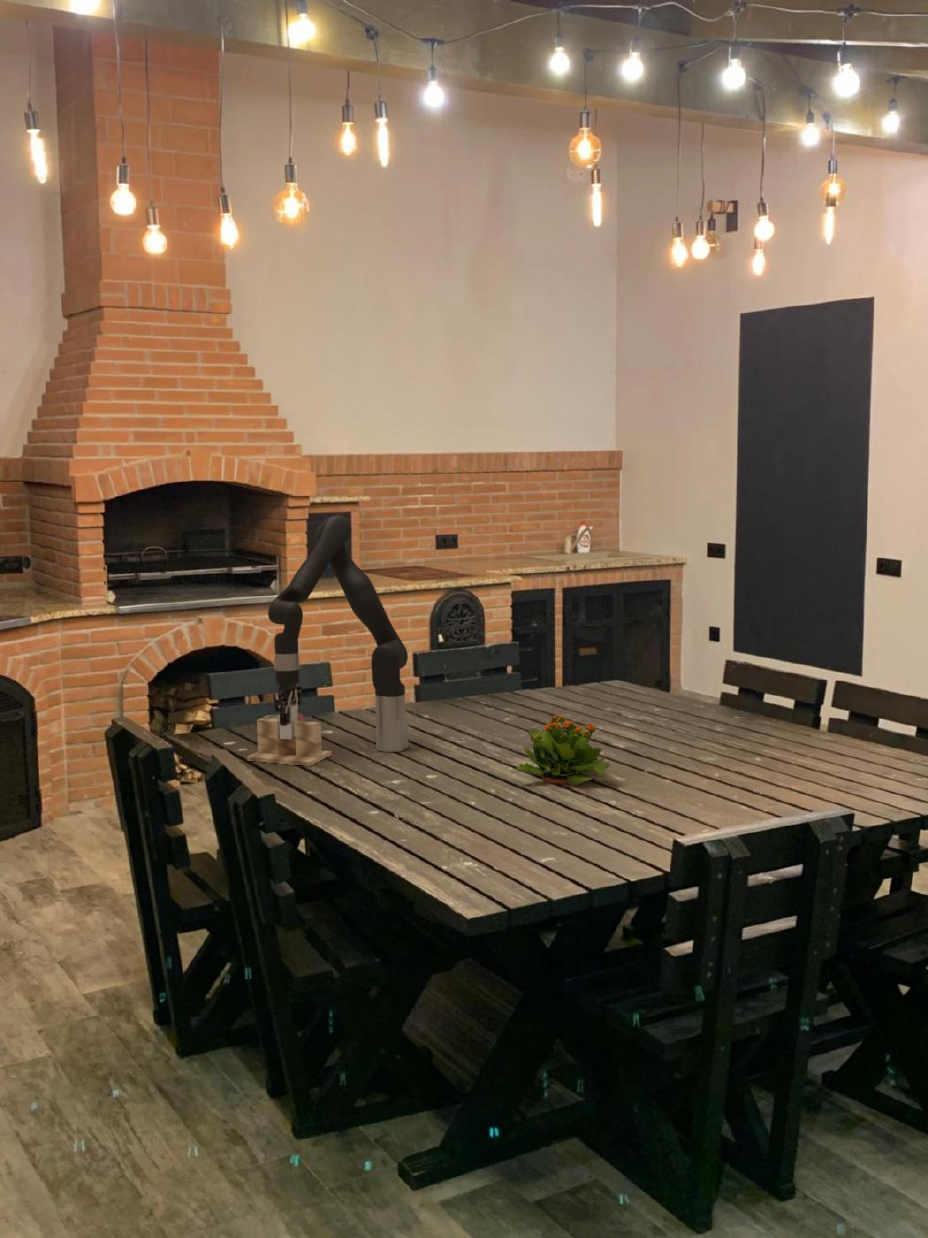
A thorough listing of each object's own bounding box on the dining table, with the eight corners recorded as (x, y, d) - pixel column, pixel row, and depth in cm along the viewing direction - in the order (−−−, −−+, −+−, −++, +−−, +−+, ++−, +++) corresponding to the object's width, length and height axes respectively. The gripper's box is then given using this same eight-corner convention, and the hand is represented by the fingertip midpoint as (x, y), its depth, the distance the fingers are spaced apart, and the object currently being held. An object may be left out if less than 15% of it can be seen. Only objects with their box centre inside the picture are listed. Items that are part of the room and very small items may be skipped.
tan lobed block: (331, 756, 375) (330, 718, 373) (310, 767, 362) (308, 728, 360) (270, 750, 382) (269, 714, 381) (247, 761, 369) (246, 723, 368)
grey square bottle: (298, 736, 372) (296, 694, 371) (291, 739, 369) (290, 696, 367) (286, 735, 374) (285, 693, 372) (279, 738, 370) (278, 695, 368)
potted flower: (527, 794, 330) (527, 730, 328) (501, 773, 353) (500, 712, 350) (614, 786, 337) (615, 723, 334) (583, 766, 359) (583, 707, 357)
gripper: (286, 672, 360) (288, 729, 363) (309, 664, 374) (311, 719, 376) (263, 671, 363) (265, 727, 365) (287, 663, 376) (289, 717, 379)
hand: (288, 723), depth 371 cm, fingers open, 5 cm apart
